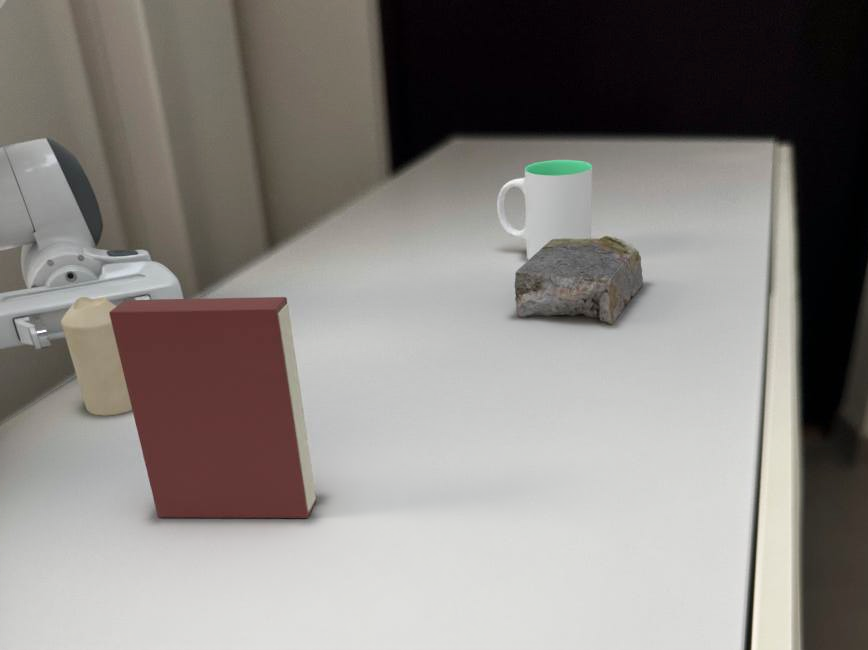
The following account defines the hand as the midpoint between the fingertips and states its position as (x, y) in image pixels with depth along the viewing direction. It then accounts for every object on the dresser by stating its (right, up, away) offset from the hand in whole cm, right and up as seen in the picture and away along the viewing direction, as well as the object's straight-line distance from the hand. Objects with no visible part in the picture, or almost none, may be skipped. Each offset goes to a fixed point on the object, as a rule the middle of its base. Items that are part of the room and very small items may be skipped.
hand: (91, 331), depth 102 cm
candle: (+3, -8, -1) cm, 8 cm away
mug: (+46, +18, +31) cm, 58 cm away
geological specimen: (+49, +8, +16) cm, 52 cm away
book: (+19, -20, -19) cm, 34 cm away
